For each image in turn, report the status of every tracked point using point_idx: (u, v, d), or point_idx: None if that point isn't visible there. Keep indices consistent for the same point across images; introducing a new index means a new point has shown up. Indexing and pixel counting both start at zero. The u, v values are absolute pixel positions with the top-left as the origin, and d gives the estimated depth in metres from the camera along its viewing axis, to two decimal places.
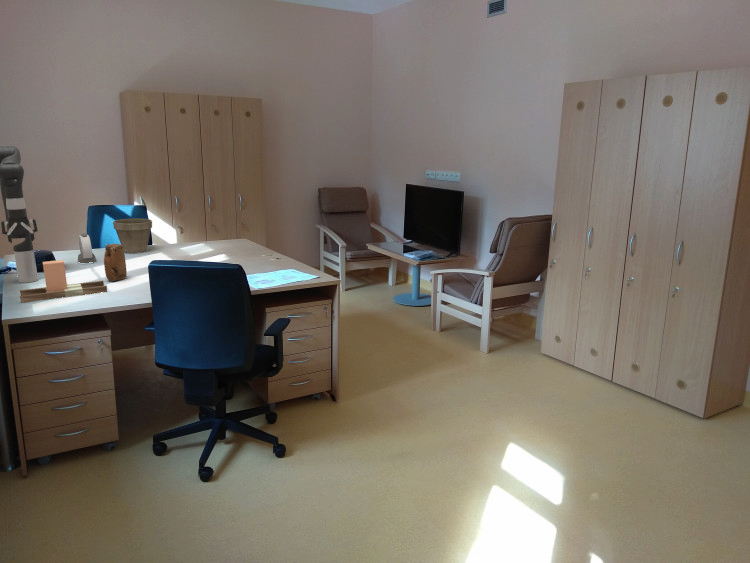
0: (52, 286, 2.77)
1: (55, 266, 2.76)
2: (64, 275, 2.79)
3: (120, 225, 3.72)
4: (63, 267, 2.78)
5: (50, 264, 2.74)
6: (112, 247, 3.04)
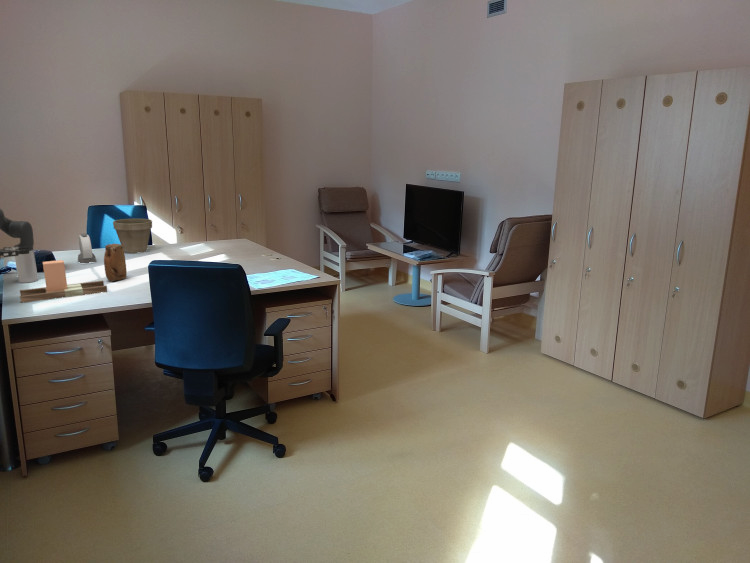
0: (52, 286, 2.77)
1: (55, 266, 2.76)
2: (64, 275, 2.79)
3: (120, 225, 3.72)
4: (63, 267, 2.78)
5: (50, 264, 2.74)
6: (112, 247, 3.04)
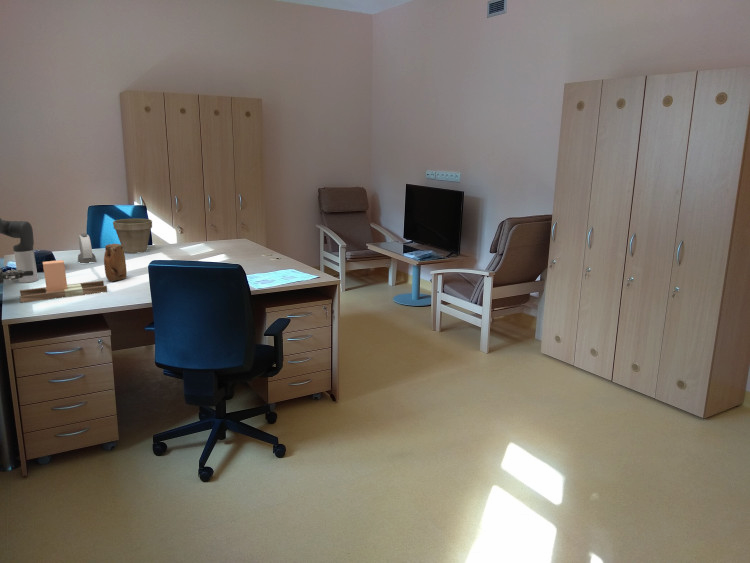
0: (52, 286, 2.77)
1: (55, 266, 2.76)
2: (64, 275, 2.79)
3: (120, 225, 3.72)
4: (63, 267, 2.78)
5: (50, 264, 2.74)
6: (112, 247, 3.04)
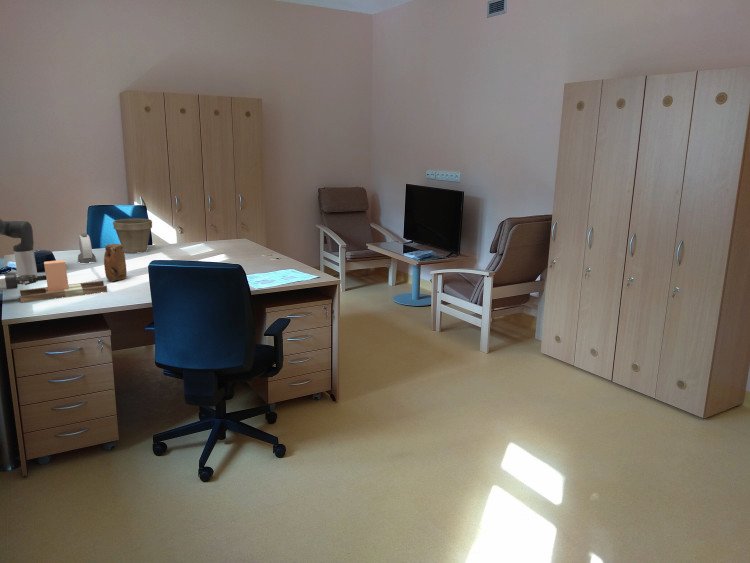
0: (54, 286, 2.77)
1: (56, 266, 2.76)
2: (65, 275, 2.79)
3: (120, 225, 3.72)
4: (64, 267, 2.78)
5: (51, 264, 2.75)
6: (112, 247, 3.04)
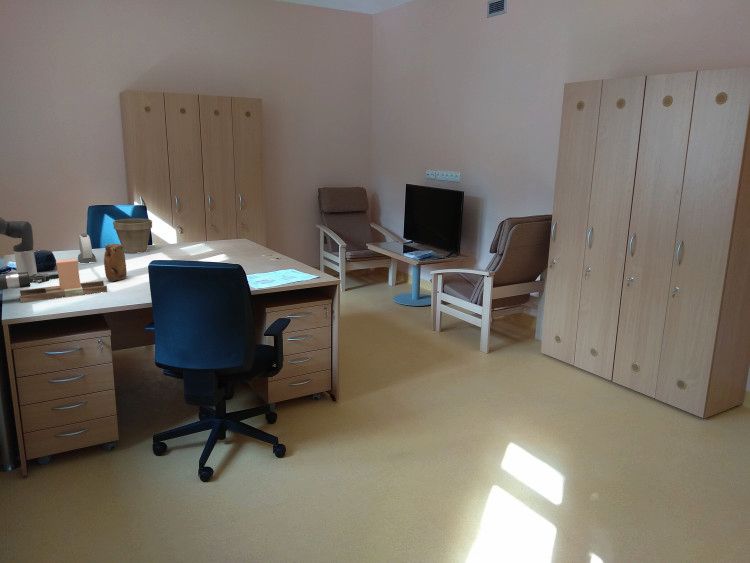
0: (66, 284, 2.80)
1: (69, 265, 2.79)
2: (77, 274, 2.82)
3: (120, 225, 3.72)
4: (76, 266, 2.81)
5: (64, 263, 2.77)
6: (112, 247, 3.04)
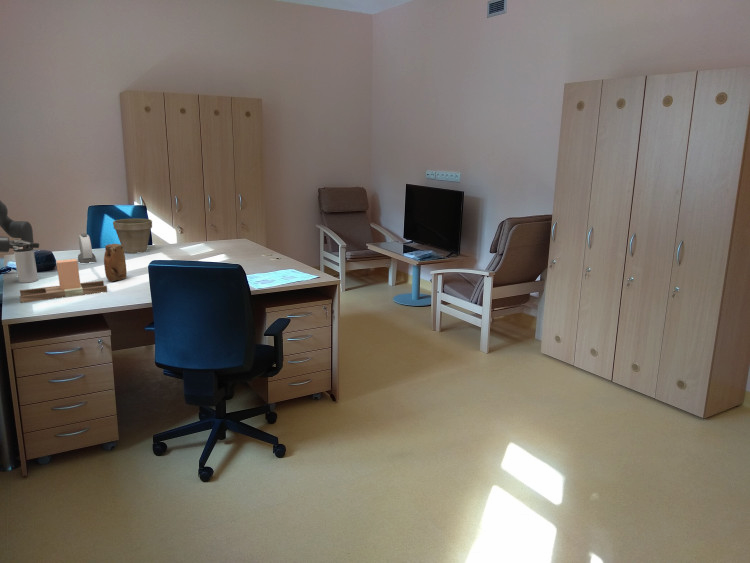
0: (66, 284, 2.80)
1: (69, 265, 2.79)
2: (77, 274, 2.82)
3: (120, 225, 3.72)
4: (76, 266, 2.81)
5: (64, 263, 2.77)
6: (112, 247, 3.04)
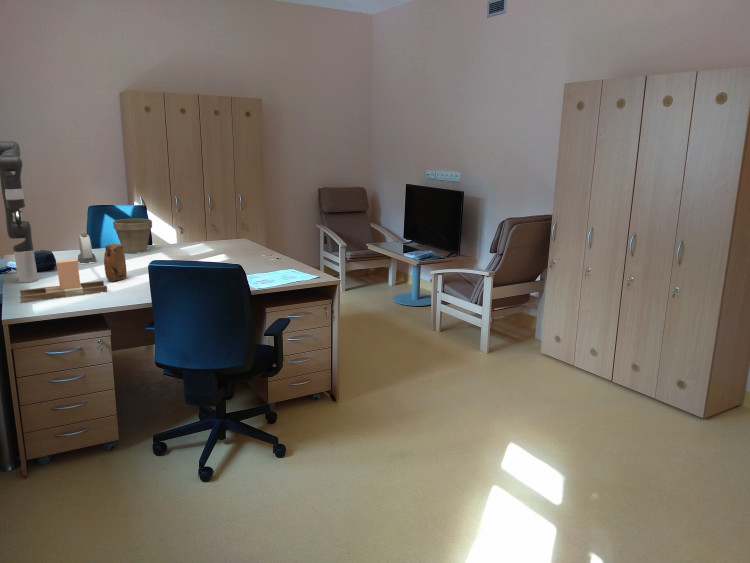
0: (66, 284, 2.80)
1: (69, 265, 2.79)
2: (77, 274, 2.82)
3: (120, 225, 3.72)
4: (76, 266, 2.81)
5: (64, 263, 2.77)
6: (112, 247, 3.04)
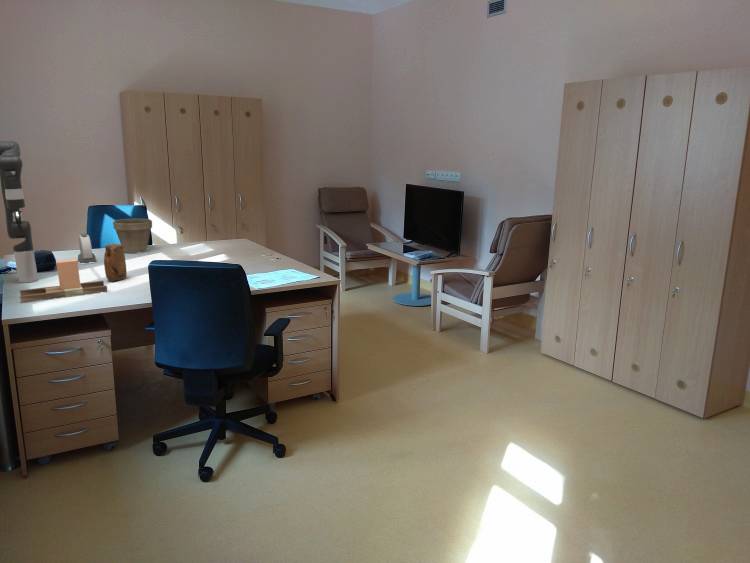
0: (66, 284, 2.80)
1: (69, 265, 2.79)
2: (77, 274, 2.82)
3: (120, 225, 3.72)
4: (76, 266, 2.81)
5: (64, 263, 2.77)
6: (112, 247, 3.04)
